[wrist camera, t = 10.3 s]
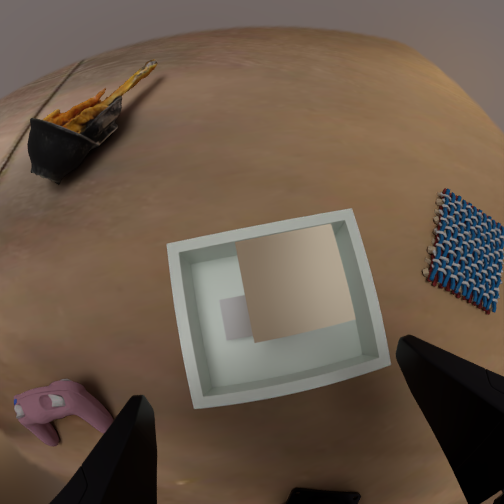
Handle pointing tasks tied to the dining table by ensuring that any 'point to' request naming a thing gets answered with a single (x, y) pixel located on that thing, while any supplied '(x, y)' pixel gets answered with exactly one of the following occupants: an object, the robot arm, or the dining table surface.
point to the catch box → (277, 350)
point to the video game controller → (59, 408)
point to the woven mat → (466, 252)
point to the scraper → (288, 286)
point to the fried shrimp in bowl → (76, 130)
